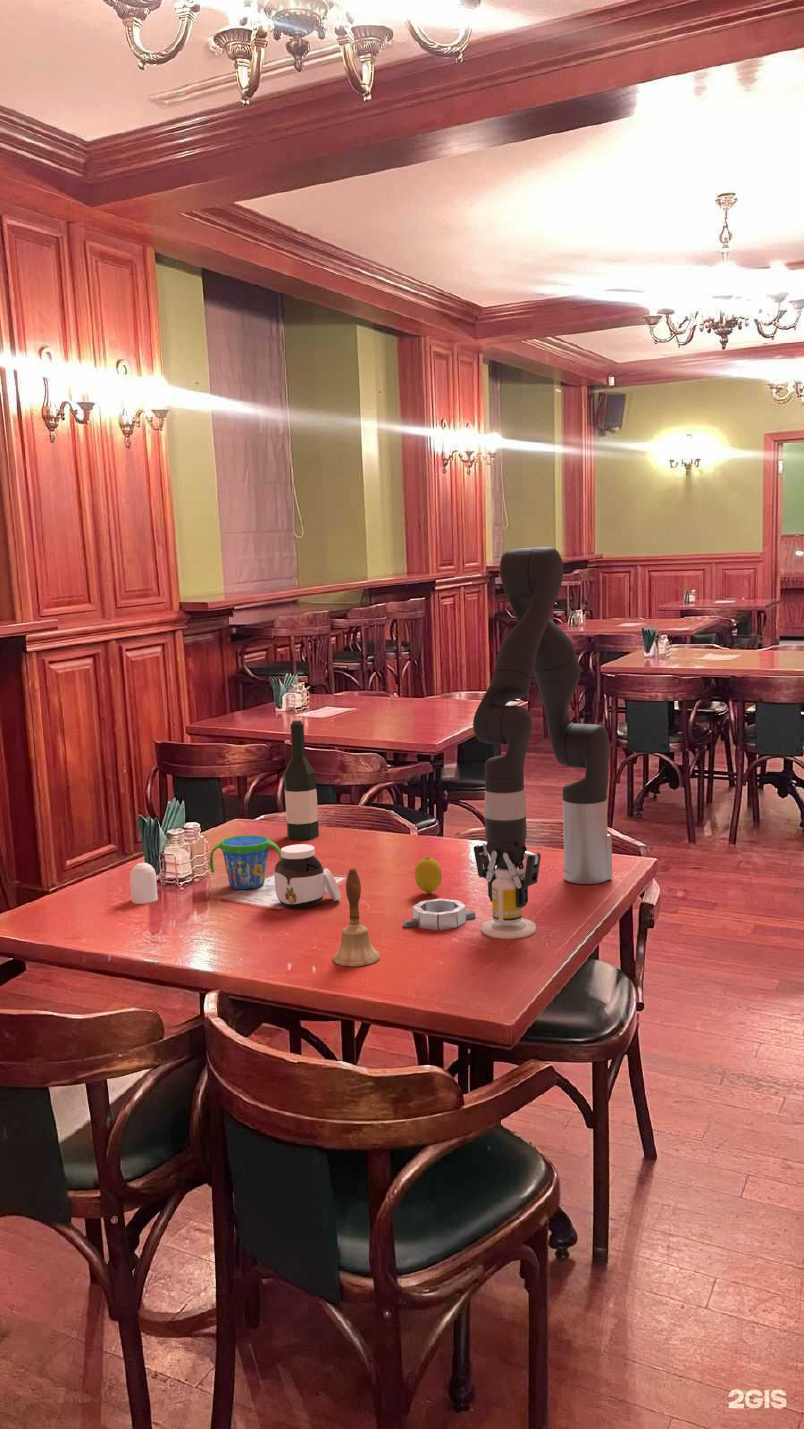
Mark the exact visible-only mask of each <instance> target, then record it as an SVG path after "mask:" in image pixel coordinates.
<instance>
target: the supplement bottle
mask: <svg viewBox="0 0 804 1429" xmlns="http://www.w3.org/2000/svg"><path fill="white" fill-rule="evenodd" d="M516 870H518V869H517V868H516ZM495 876H496V877H497V879H495V880H494V881H493V882H492V902H491V903H492V906H491V907H492V919H493V920H494V921H495V922H497V923H501V924H514V923H517V922H520V921H521V920H522V918H523V907H522V908H519V907H517V906H516V888H517V886H516V884H515V881H514V878H513V877H512V876H511V875H510V872H509V870H507V869H505V868H496V869H495Z"/></svg>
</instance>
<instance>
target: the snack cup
mask: <svg viewBox="0 0 804 1429" xmlns="http://www.w3.org/2000/svg"><path fill="white" fill-rule="evenodd" d="M270 847H273V849H274V850H275V851H276V852H277V854H278V856H279V858H278V859H279V860H280V859H281V858H282V856H281V848H280V847H279V845H277V843H276V842H274V841H272V840H271V839H269V837H268V836H263V835H257V834H247V835H246V834H244V835H235V836H230V837H226V838H224V839H222V840H220V842H219V843H218V844H216V845H214V847H213V848H212V849H211V852H210V855H209V859H208V860H209V869H210V871H211V873H214V872H215V866H214V857H213V856H214V852H215V851H217V849H220V850H221V851H222V855H223V859H224V865H225V871H226V874H227V879H228V883H229V886H230V887H232V888H233V889H236V890H249V889H256V888H260V887H261V886H263V885H264V884H265V881H266V879H265V878H266V872H267V871H266V870H267V860H268V854H269V849H270ZM279 860H278V861H279Z"/></svg>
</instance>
